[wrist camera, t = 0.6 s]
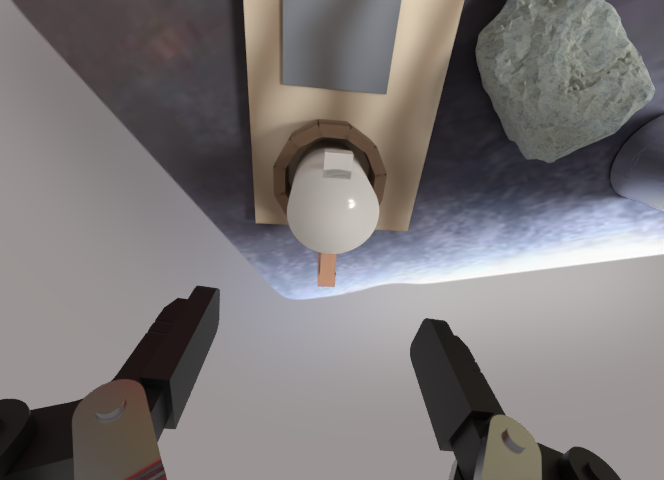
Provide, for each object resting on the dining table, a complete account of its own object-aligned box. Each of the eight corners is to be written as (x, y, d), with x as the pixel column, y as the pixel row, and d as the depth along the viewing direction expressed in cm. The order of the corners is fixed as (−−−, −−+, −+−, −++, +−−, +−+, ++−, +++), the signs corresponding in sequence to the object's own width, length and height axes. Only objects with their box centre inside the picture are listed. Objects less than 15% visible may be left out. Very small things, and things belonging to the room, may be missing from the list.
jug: (297, 126, 26) (287, 149, 17) (365, 132, 26) (389, 157, 17) (295, 230, 31) (286, 288, 22) (351, 233, 31) (364, 291, 23)
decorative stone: (573, 140, 29) (715, 68, 19) (496, 194, 27) (606, 146, 17) (499, 41, 29) (598, -79, 19) (419, 87, 28) (483, -18, 18)
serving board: (472, -57, 21) (509, -91, 17) (404, 226, 33) (416, 247, 29) (242, -91, 20) (222, -137, 15) (257, 218, 31) (248, 238, 27)
